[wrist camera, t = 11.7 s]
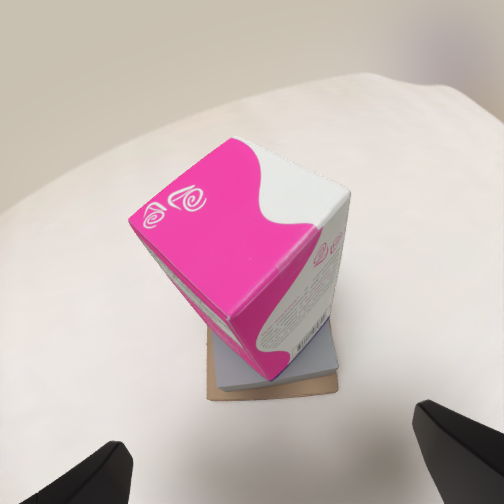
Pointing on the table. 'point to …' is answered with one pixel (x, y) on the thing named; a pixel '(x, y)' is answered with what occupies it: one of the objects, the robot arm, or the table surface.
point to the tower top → (301, 368)
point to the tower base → (271, 392)
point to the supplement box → (251, 248)
